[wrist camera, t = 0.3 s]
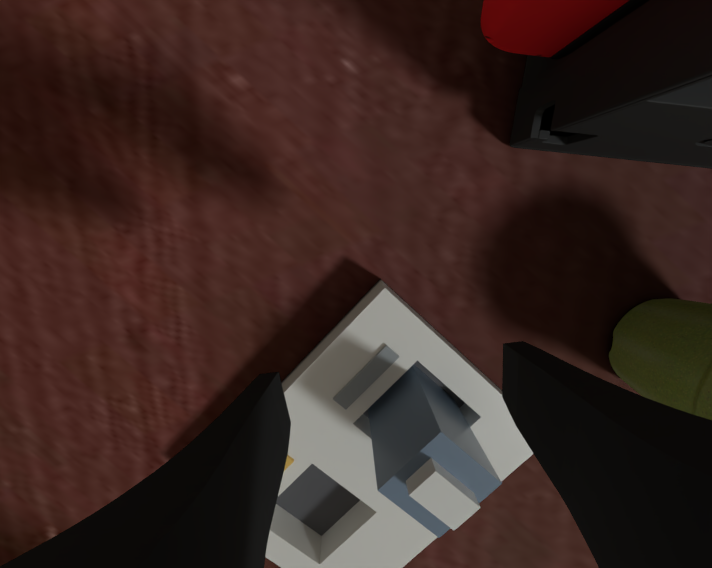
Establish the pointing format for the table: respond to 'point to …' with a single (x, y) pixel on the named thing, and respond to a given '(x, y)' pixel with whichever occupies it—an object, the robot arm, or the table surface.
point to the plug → (428, 454)
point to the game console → (610, 76)
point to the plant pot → (667, 353)
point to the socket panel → (369, 437)
